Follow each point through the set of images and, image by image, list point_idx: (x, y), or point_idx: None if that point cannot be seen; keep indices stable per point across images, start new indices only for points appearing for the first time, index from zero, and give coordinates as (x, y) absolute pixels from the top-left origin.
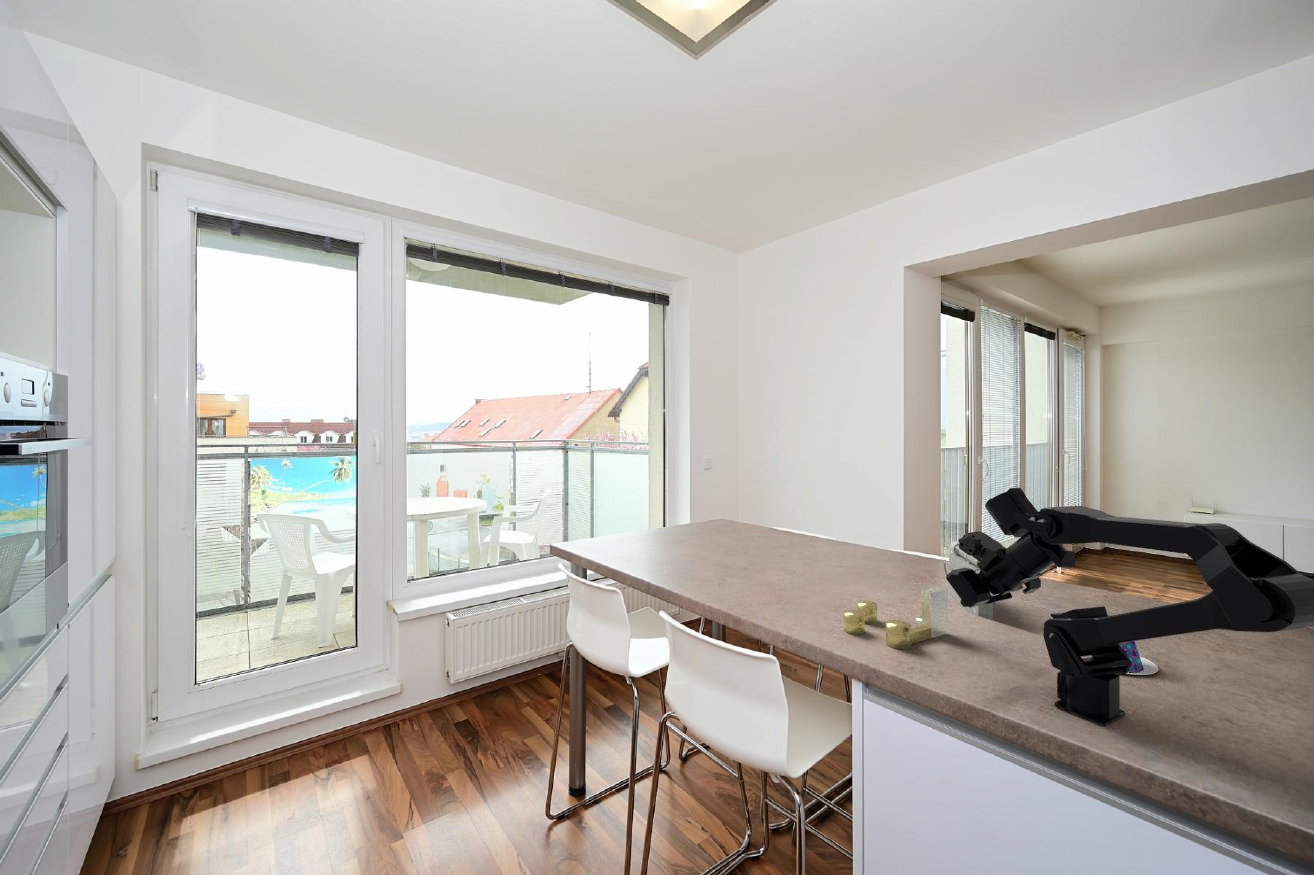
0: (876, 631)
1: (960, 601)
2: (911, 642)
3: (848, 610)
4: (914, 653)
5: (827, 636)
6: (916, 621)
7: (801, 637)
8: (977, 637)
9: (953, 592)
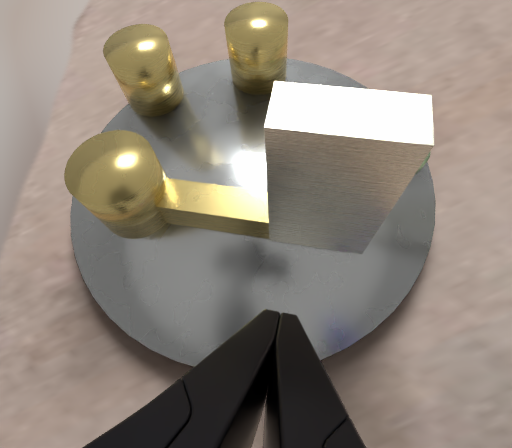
0: None
1: (261, 311)
2: (174, 222)
3: (147, 27)
4: None
5: None
6: None
7: (84, 49)
8: (490, 310)
9: None
